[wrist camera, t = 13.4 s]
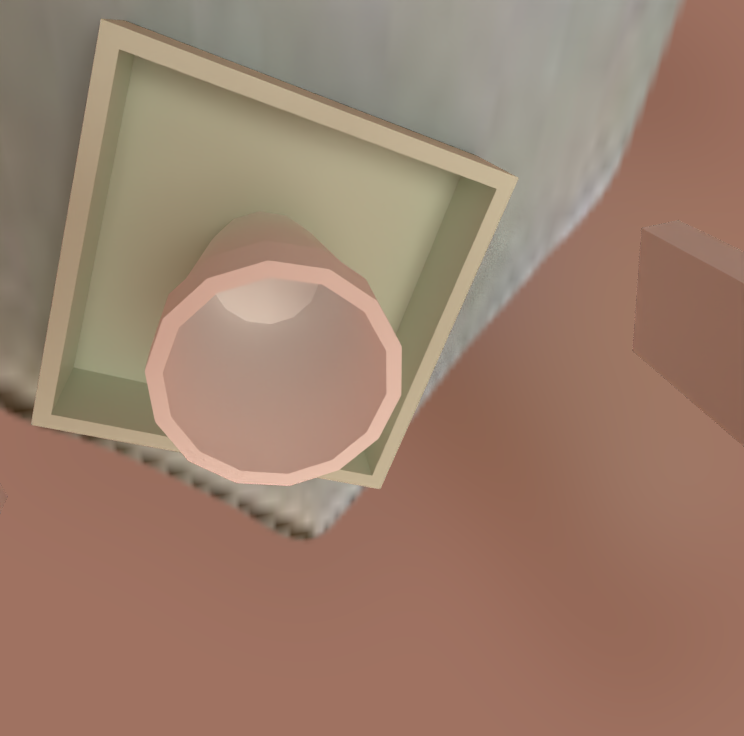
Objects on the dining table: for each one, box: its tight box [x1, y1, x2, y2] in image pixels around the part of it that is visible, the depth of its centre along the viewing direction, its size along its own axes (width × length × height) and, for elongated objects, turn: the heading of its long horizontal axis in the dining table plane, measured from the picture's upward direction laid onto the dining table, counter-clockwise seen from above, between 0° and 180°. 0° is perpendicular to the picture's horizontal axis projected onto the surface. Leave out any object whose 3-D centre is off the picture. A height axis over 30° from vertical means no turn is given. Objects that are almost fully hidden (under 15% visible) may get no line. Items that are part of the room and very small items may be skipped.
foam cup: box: [145, 211, 402, 486], centre depth 29 cm, size 10×9×13 cm
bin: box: [31, 19, 518, 489], centre depth 33 cm, size 19×19×6 cm
